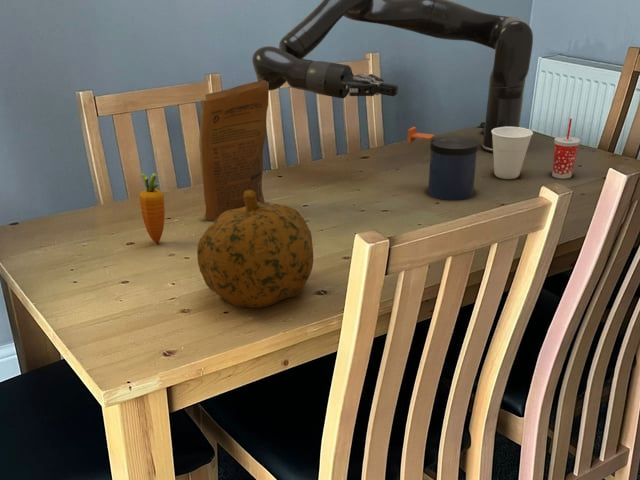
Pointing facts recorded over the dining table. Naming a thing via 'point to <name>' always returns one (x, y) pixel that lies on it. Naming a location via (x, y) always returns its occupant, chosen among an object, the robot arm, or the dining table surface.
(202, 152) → the pancake mix bag
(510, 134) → the cup
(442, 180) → the blue lidded canister
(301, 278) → the decorative pumpkin
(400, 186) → the dining table surface
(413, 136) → the slider
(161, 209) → the carrot
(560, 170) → the beverage cup
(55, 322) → the dining table surface
